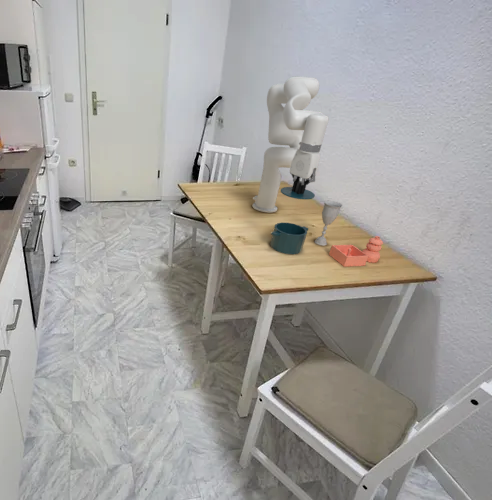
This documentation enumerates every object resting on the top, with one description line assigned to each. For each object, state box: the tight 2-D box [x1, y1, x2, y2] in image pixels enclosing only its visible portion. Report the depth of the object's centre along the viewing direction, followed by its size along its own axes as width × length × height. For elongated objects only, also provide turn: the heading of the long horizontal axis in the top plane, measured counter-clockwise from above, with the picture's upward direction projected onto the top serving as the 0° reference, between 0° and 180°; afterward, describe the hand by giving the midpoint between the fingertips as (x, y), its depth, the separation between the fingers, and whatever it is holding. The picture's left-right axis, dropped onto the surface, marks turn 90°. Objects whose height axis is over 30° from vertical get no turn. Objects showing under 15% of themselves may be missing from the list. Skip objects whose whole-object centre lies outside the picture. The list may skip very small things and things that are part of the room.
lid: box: [280, 180, 316, 201], centre depth 149 cm, size 13×13×6 cm
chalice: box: [314, 199, 343, 246], centre depth 151 cm, size 7×7×18 cm
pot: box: [269, 222, 309, 255], centre depth 148 cm, size 12×18×8 cm
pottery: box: [328, 235, 384, 267], centre depth 141 cm, size 18×10×10 cm, turn 99°
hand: (297, 192), depth 150 cm, fingers closed on lid, 2 cm apart
